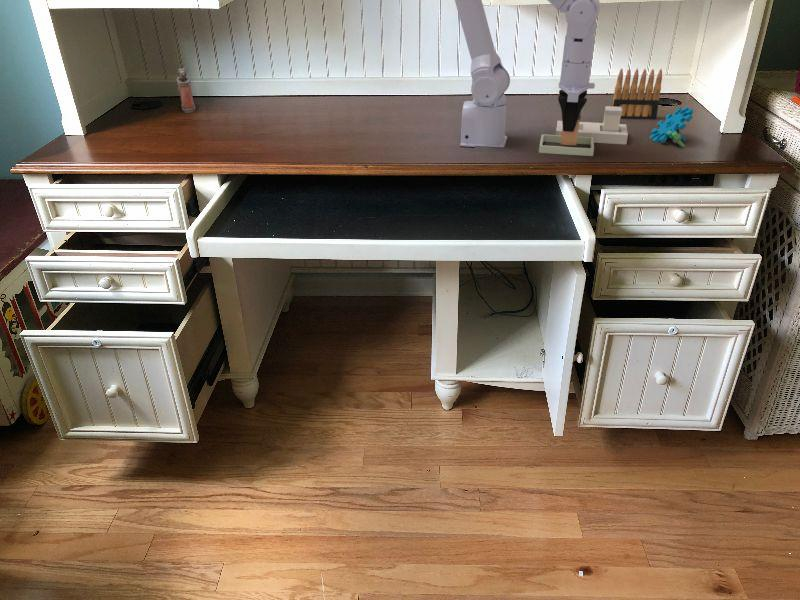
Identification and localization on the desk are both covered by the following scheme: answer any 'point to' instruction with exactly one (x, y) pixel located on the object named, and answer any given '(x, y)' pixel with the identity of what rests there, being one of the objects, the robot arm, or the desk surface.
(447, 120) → the desk surface
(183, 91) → the pink perfume bottle
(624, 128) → the block
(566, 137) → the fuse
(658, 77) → the ammunition clip
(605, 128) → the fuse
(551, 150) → the parts tray
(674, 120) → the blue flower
